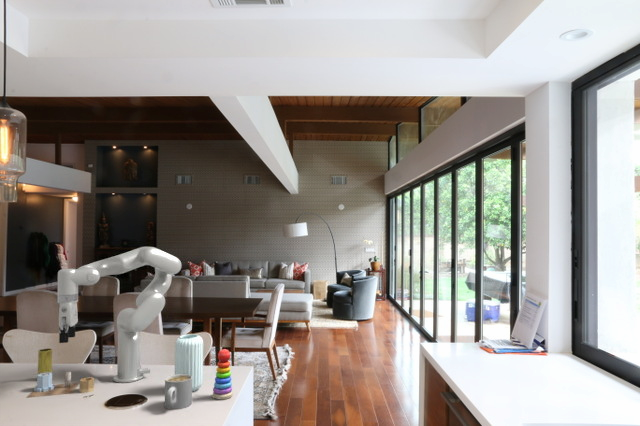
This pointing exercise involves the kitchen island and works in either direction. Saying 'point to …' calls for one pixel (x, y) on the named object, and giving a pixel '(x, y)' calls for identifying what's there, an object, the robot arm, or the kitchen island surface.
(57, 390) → the board
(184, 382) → the coffee mug
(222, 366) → the stacking toy
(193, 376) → the vase
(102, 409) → the kitchen island surface
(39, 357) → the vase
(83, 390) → the oak gear
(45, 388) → the gear
